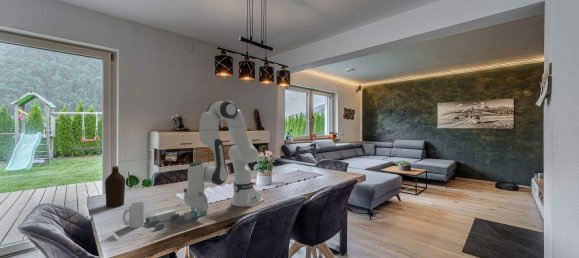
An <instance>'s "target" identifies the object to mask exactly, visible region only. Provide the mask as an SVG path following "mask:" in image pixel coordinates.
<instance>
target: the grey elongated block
mask: <svg viewBox="0 0 579 258" xmlns="http://www.w3.org/2000/svg"><path fill="white" fill-rule="evenodd" d="M174 214H176V210H174V209H169V210H165V211H160V212H158V213H152V214H149V215H148V217H149V223H150V221H152V220H155V219H159V222H162V221H166V220H170V219H171V215H174Z"/></svg>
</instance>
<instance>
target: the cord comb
mask: <svg viewBox="0 0 579 258" xmlns="http://www.w3.org/2000/svg"><path fill="white" fill-rule="evenodd" d="M185 222H186V219H185V217H184V216H181V217H180V214H179V213H175V214H174V215H171V219H170V220H166V221H162V222H159V219H155V220H152V221H150V223H149V216H146V217H145V223H146V224H147V225H148V226H150V227H152V228H153V229H154V230H156V231H159V230H162V229H165V228H169V227H173V226H176V225H178V224H182V223H185Z"/></svg>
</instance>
